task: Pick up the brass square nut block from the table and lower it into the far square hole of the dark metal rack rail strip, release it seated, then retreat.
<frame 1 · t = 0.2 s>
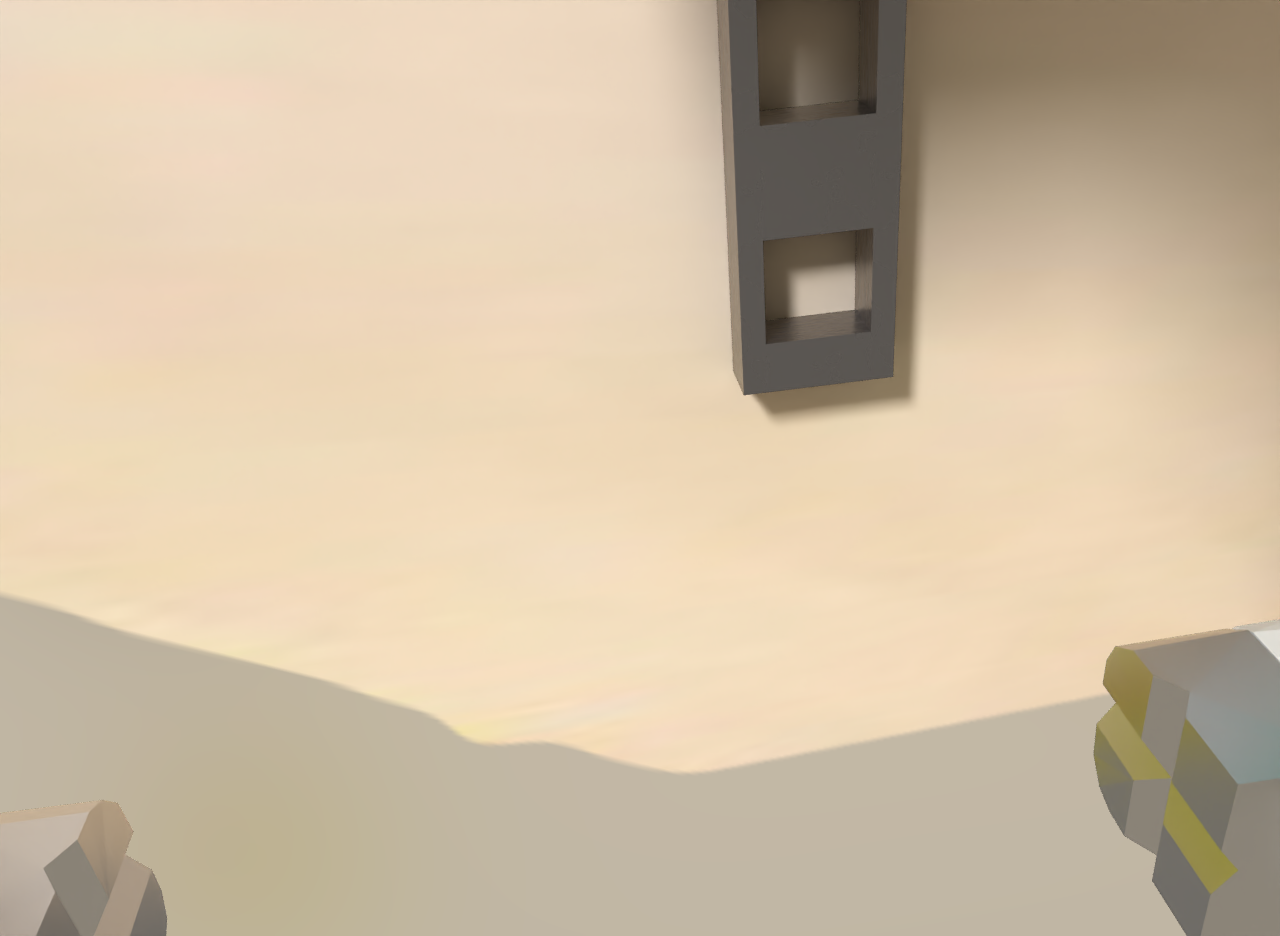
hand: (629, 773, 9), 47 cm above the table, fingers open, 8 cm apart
rack rail: (803, 162, 55), on the table
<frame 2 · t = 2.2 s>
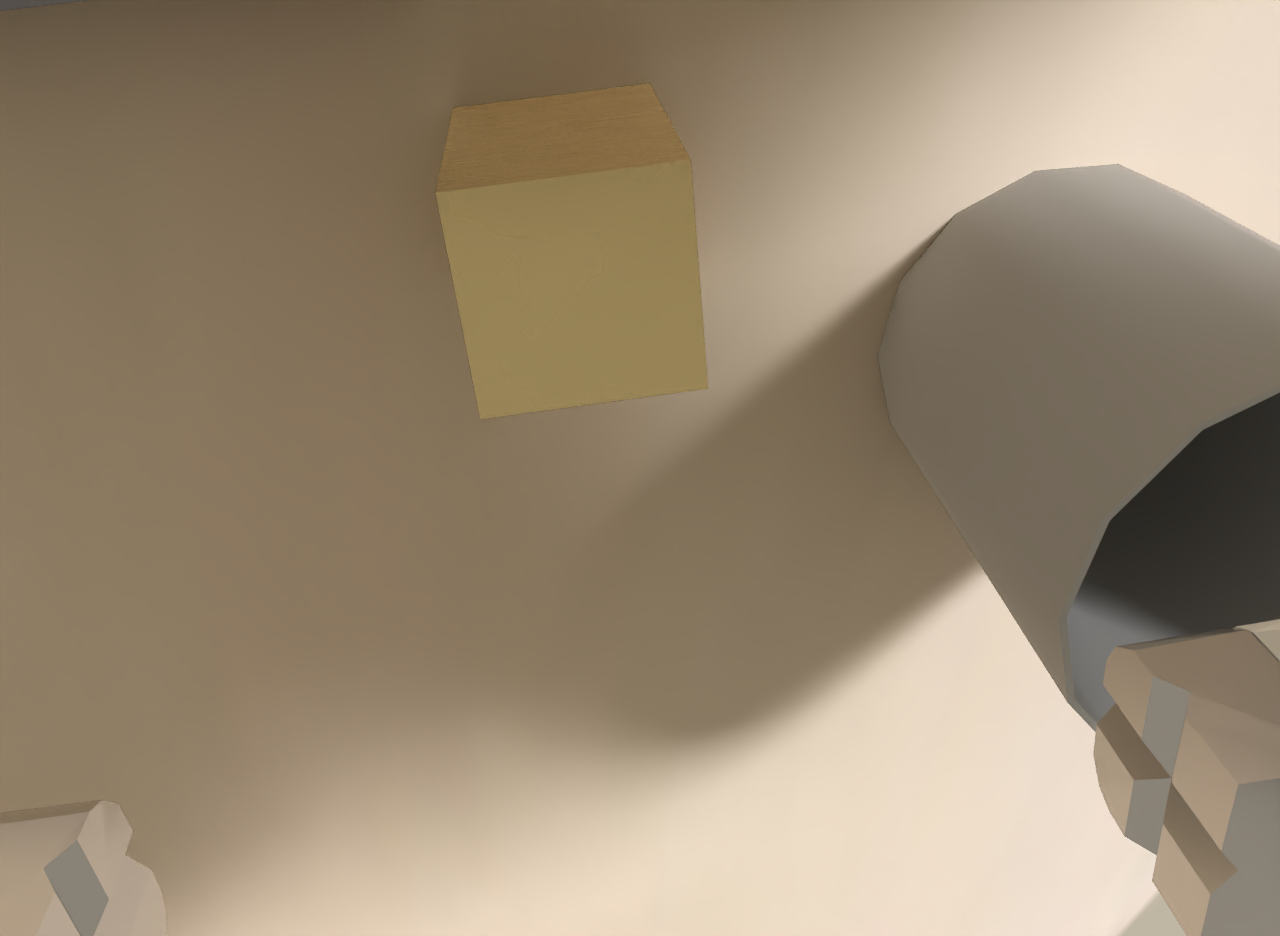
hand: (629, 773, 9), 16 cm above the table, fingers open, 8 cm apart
cup: (1047, 336, 26), on the table
nut block: (565, 192, 23), on the table
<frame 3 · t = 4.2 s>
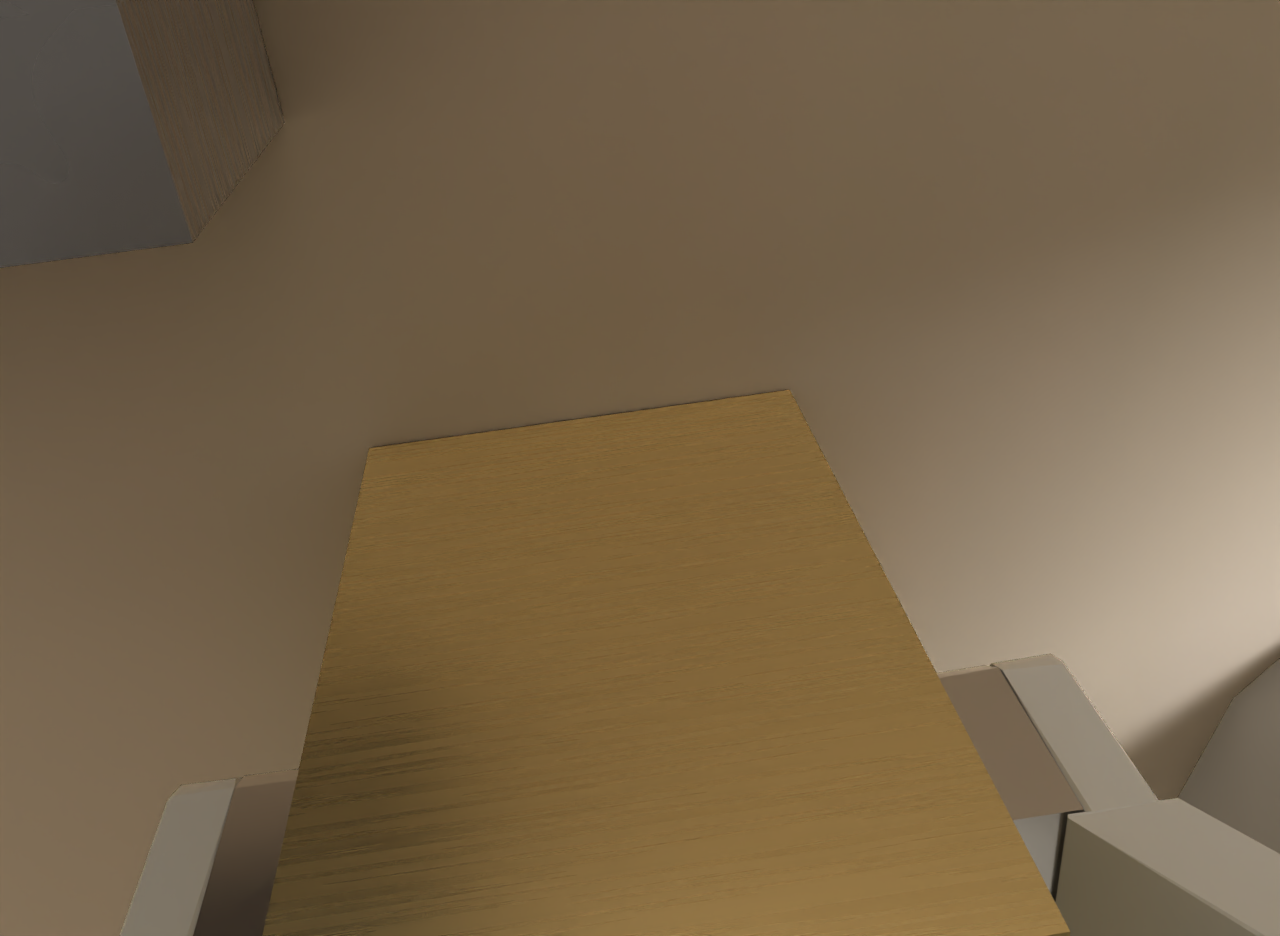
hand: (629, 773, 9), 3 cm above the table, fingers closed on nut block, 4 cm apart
nut block: (605, 588, 11), on the table, touching gripper
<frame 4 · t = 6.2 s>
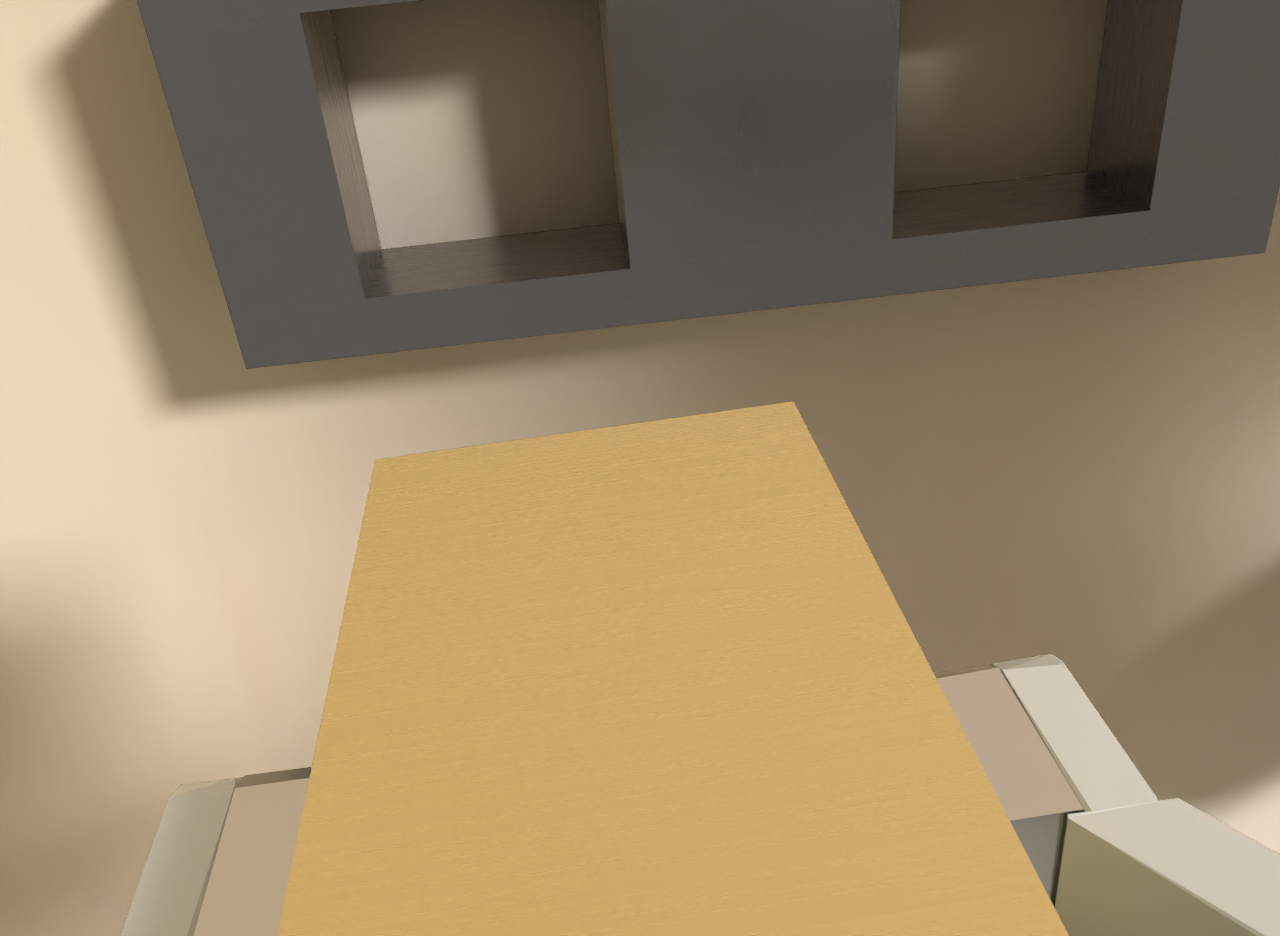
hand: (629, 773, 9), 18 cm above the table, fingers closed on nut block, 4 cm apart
rack rail: (733, 87, 24), on the table
nut block: (610, 598, 11), point 15 cm above the table, touching gripper
when the fingers open (4 cm above the table, at t = 8.5 s): nut block drops 1 cm, resting in rack rail.
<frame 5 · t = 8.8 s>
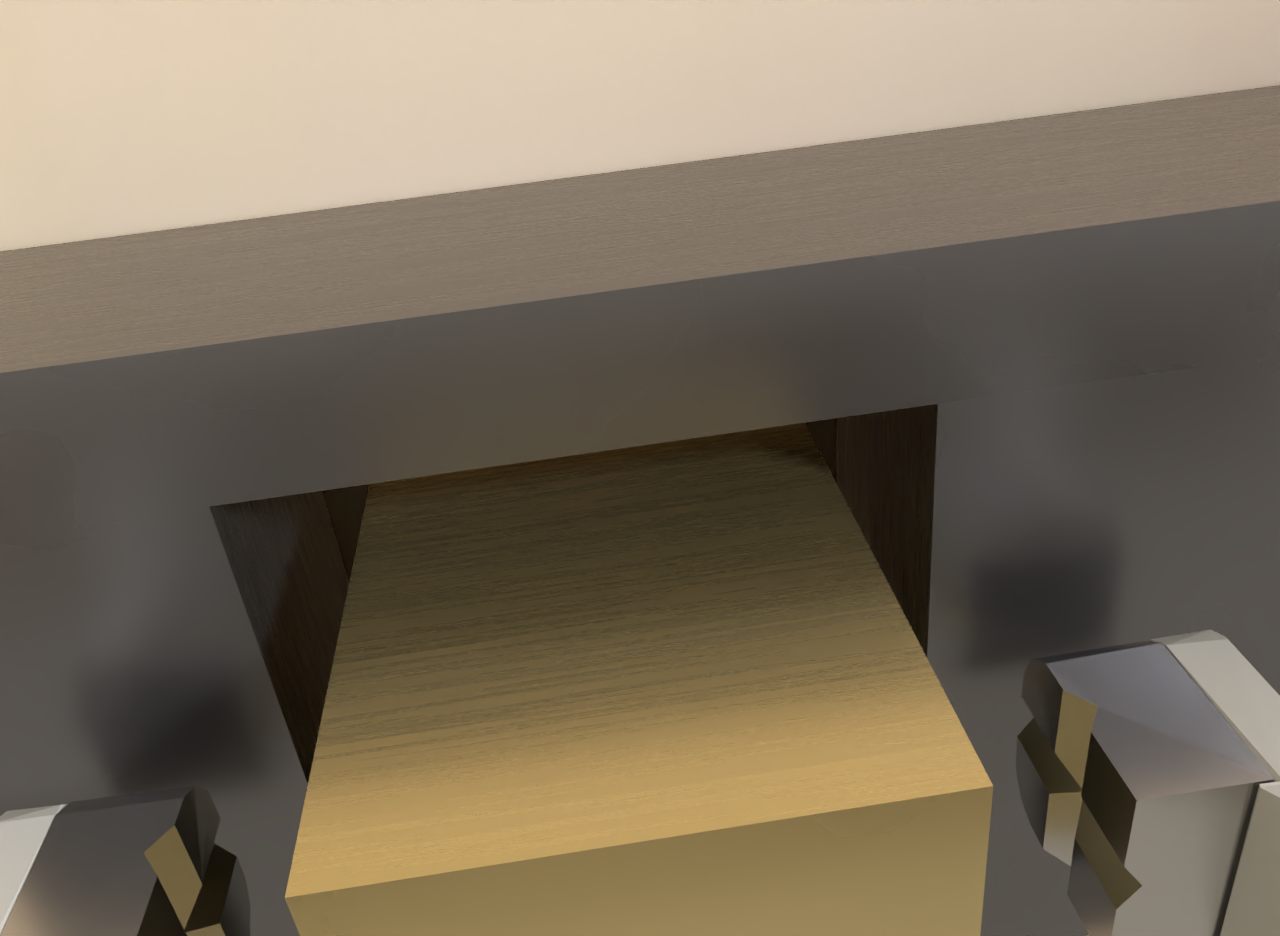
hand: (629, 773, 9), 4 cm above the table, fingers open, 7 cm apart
rack rail: (1075, 467, 12), on the table
nut block: (601, 541, 12), resting in rack rail
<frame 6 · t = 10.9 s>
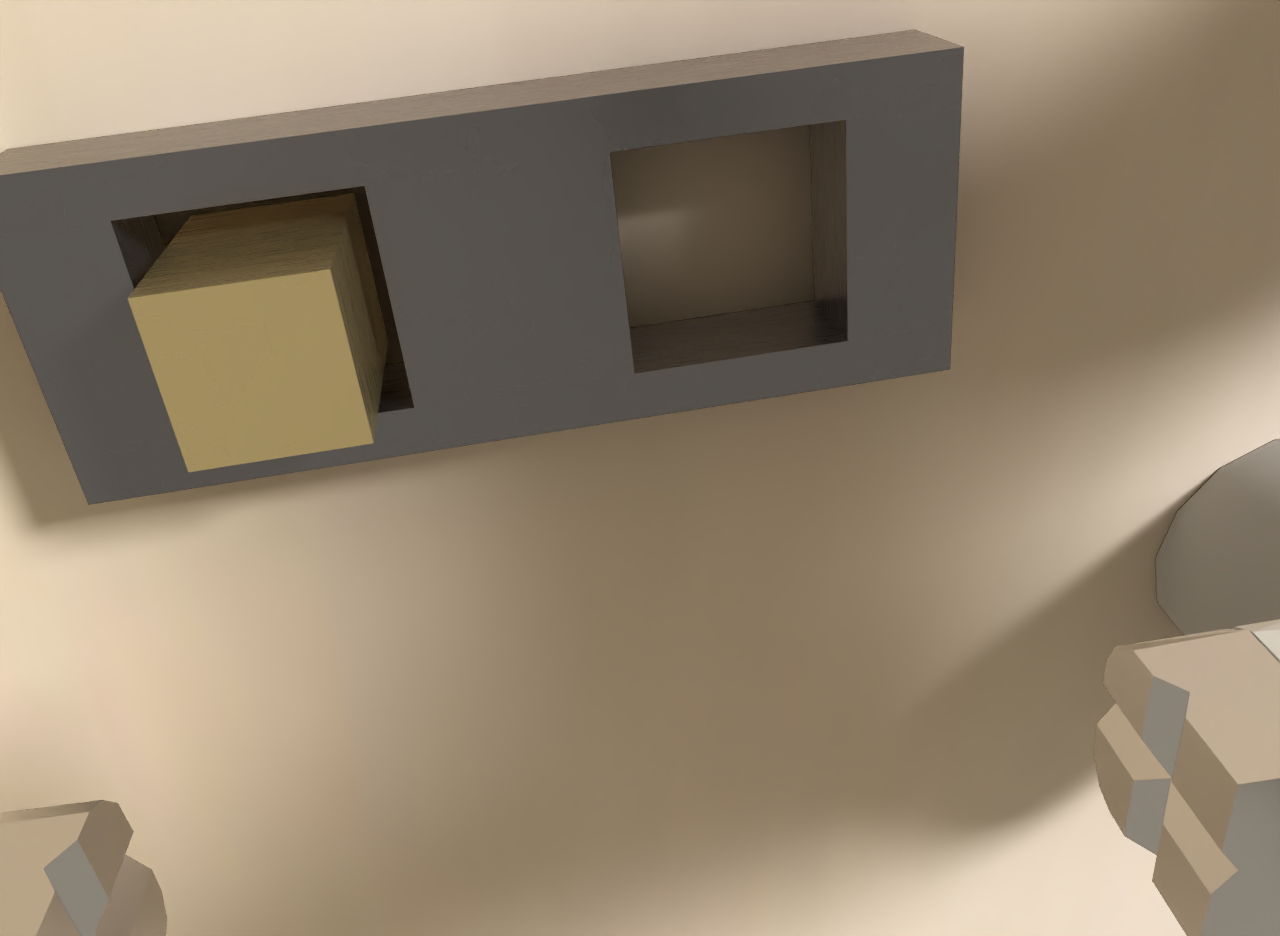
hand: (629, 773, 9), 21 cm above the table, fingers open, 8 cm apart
cup: (1268, 540, 37), on the table
rack rail: (502, 247, 28), on the table
nut block: (293, 280, 28), resting in rack rail
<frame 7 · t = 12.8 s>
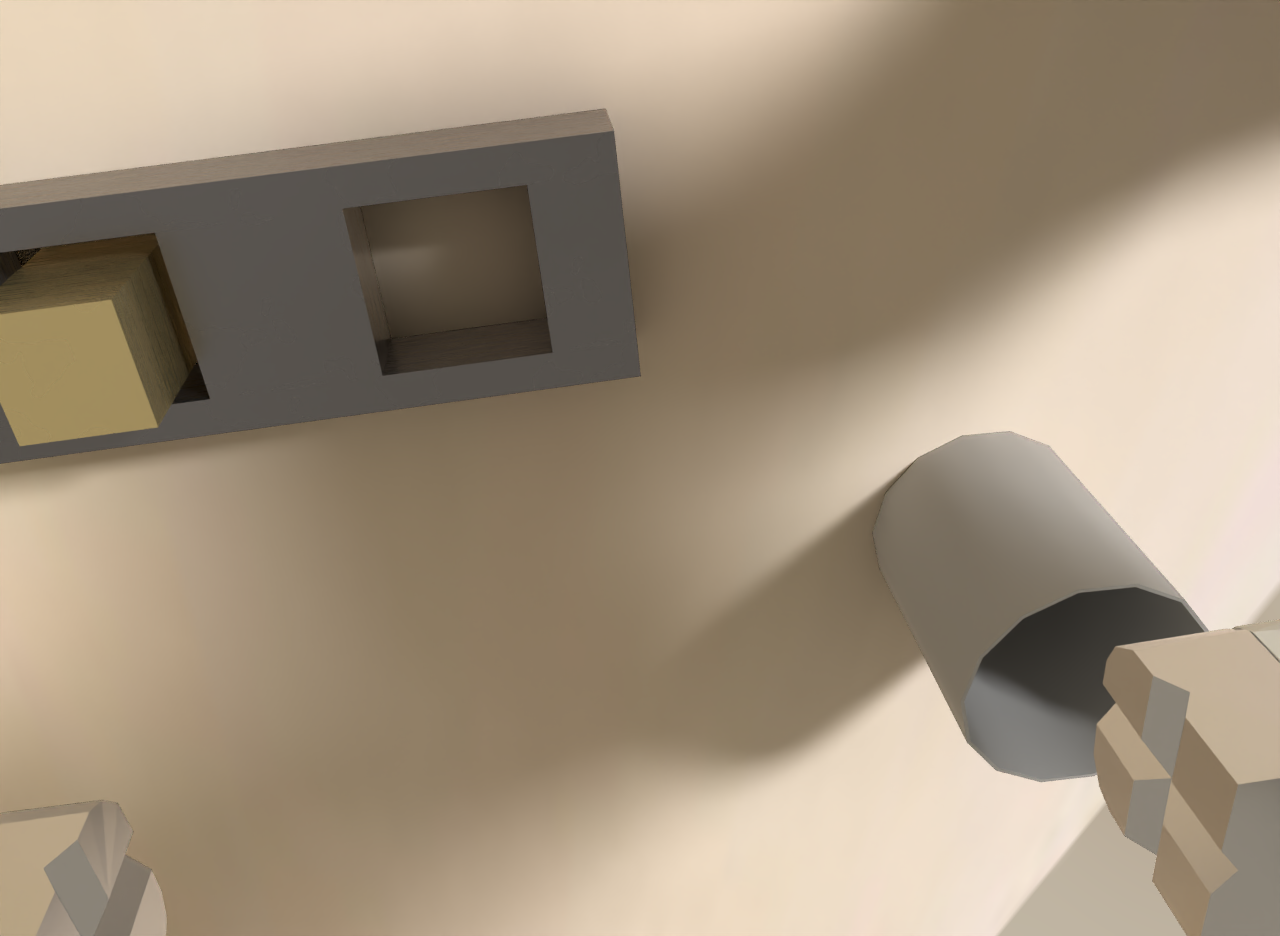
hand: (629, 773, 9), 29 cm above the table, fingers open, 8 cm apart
cup: (972, 520, 45), on the table
rack rail: (290, 273, 36), on the table
nut block: (126, 298, 36), resting in rack rail
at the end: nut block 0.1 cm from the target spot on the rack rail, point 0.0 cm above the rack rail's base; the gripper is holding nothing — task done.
